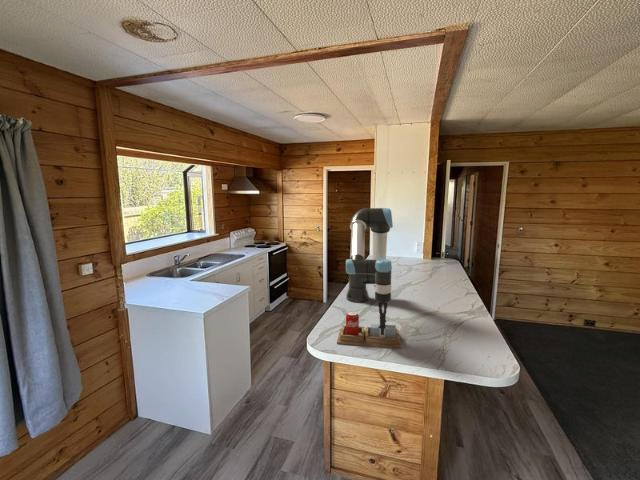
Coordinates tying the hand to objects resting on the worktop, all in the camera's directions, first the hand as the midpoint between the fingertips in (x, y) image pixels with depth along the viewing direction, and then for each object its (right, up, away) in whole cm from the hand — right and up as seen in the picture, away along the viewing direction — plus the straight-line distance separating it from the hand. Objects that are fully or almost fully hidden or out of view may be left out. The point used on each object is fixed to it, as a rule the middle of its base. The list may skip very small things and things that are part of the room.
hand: (382, 337), depth 154 cm
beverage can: (-14, 0, +3) cm, 15 cm away
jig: (-6, -1, +2) cm, 7 cm away
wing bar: (0, 0, 0) cm, 1 cm away
